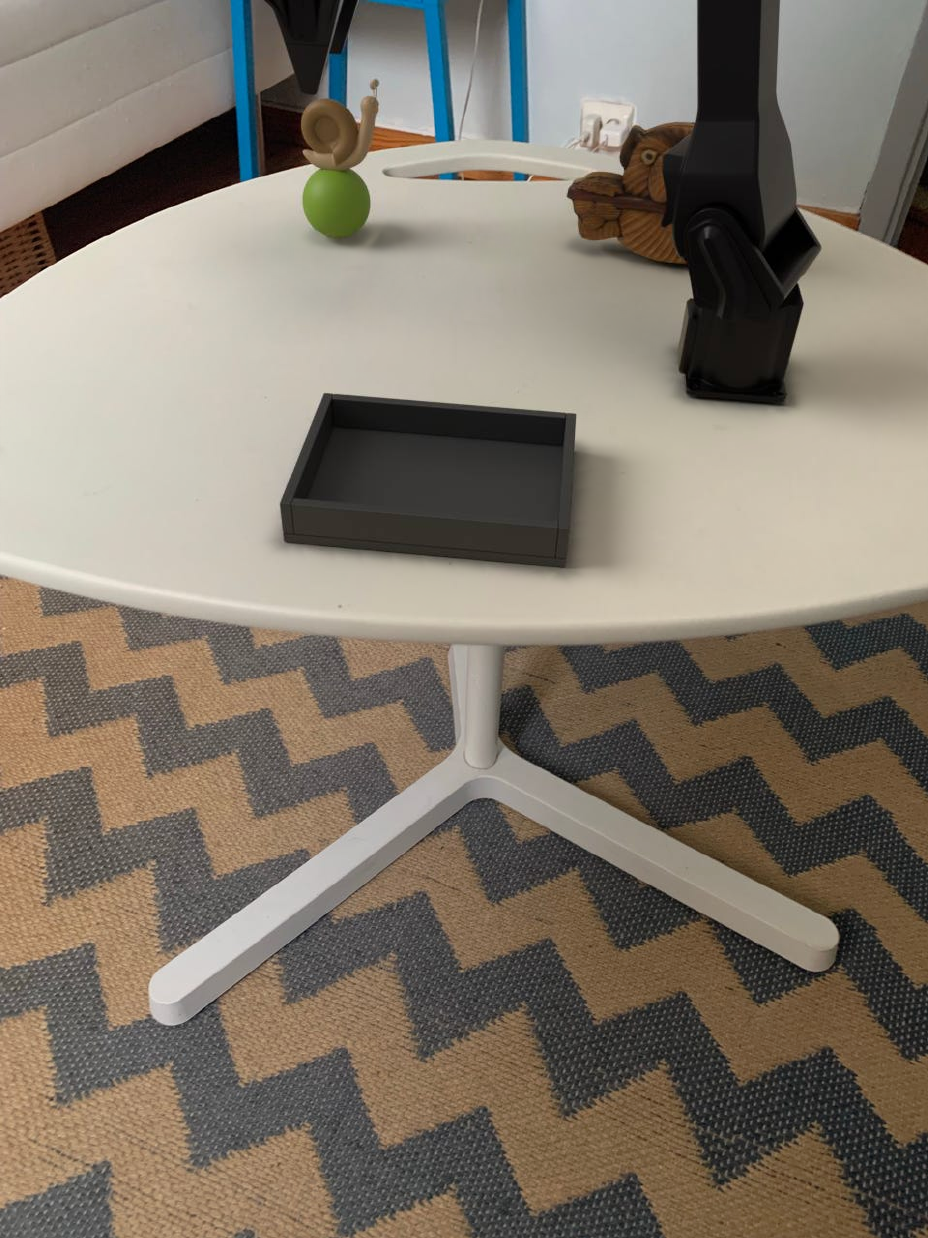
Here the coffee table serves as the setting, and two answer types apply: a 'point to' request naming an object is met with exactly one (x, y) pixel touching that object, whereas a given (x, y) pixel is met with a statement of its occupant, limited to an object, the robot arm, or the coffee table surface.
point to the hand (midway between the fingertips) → (322, 72)
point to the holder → (434, 480)
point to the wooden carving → (632, 195)
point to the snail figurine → (337, 165)
